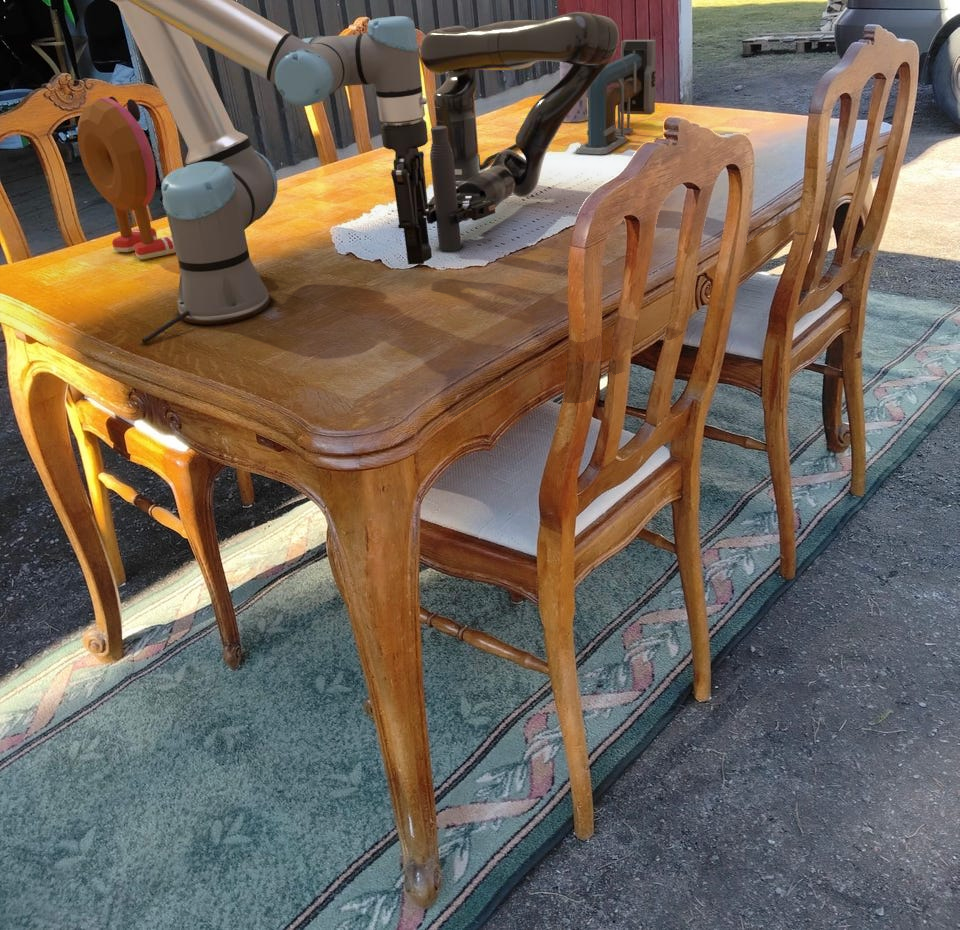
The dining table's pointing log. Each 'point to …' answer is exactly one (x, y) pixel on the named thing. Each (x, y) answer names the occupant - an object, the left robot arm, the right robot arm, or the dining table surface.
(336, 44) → the left robot arm
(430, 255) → the cap
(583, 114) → the aerosol can
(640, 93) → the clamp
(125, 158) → the toy
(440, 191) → the bottle
